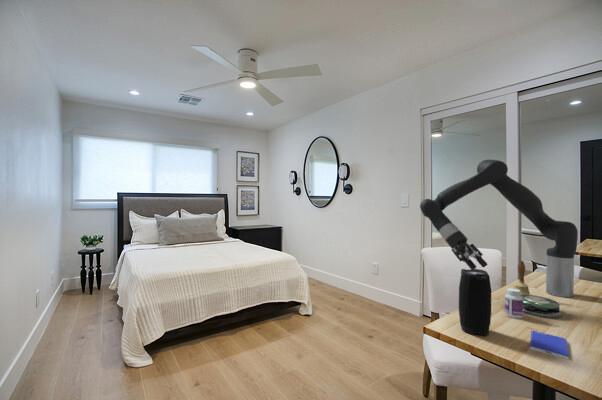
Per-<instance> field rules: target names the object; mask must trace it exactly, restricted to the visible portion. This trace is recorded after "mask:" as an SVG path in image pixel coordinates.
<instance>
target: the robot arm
mask: <svg viewBox="0 0 602 400" xmlns="http://www.w3.org/2000/svg"><path fill="white" fill-rule="evenodd" d="M508 167H509V166H508V165H507V164H506V163H505V162H504V161H501V160H498V159H485V160H482V161H481V162H479V163H478V164H477V167H476V172H477V174H475V175H473V176H471V177H469V178H467V179H464V180H462V181H460V182H457V183H454V184H453V185H451V186H449V187H447V188H445V189H443V190H442V191H441V192H439V194H437V197H436V198H435V199H430V198H425V199H423V200H422V201H421V202H420V205H419V208H420V211H421V213H422V215H423V216H424V217H426V218H428V219H429V221H430V222H431V225H432V226H433V227H434V228H435V230H437V232H438V233H439V235H440V236H441V237H442V239H443V240H444V241H445V242H446V243H447V244H448V246H449V247H450V248H451V252H452V253H453V254H454V255H455V256H456V258H457V259H458V261H459V262H463V263H465V264H466V265H467V266H468V268H469V270H473V269H477V265H476V263H474V261H473V260H472V259H471V258H473V259H475V261H476V262H477V263H478V264H479V265H480V266H481V268H485V267H486V266H488V263H487V262H486V260H485V259H484V258H483V257H482V256H483V253H482V252H481V251H480V250H479V248H478V247H476V246H475V244H474V243H471V244H469V243H468V237H467V236H466V235H465V234H464V233H463V232H462V231H461V230H460V228H458V226H456V224H454V222H452V221H451V220H450V219H449V217H448V216H447V215H446V214H445V213H444V212H443V211H445V209H446V208H447V207H448V206H450V205H452V204H454V203H456V202H457V201H459V200H460V199H462V198H464V197H466V196H467V195H469V194H472V193H473V192H475V191H477V190H479V189H481V188H483V187H486V186H489V185H491V186H492V187H493V188H495V189H496V190H497V191H498V192H499V193H500V194H501V195H502V197H504V198H505V199H506V201H507V202H509V203H510V204H511V205H512V206H513V207H514V208H515V209H517V210H518V211H519V212H520V213H521V215H523V216H524V217H526V218H527V220H529V221H530V222H531V223H532V224H533V226H535V227H536V229H537V230H538V231H539V232H540V233H541V235H542V236H544V237H545V238H546V239H547V240H550V241H554V242H555V245H554V246H553V247H550V248H547V249H546V260H545V261H546V263H545V264H546V265H545V266H546V269H545V270H546V272H545V274H546V275H545V281H546V282H545V292H546V293H547V294H549V295H553V296H556V297H562V298H574V295H575V293H574V291H575V290H574V288H575V253H576V251H577V249H578V248H577V247H578V238H579V237H578V234H579V232H578V228H577V226H576V224H575V223H574V222H570V221H565V220H564V221H562V220H556V219H553V218H552V217H551V216H549V215H548V213H546V212H545V211H544V209H543V203H542V201H541V199H540V197H538V196H537V194H535V193H534V192H533V191H532V190H531V189H529V188H528V187H526V186H525V185H523V184H522V183H520V182H518V181H516V180H514V179H513V178H511V177H510V176H509V175H508V172H509V171H508V170H509V169H508Z"/></svg>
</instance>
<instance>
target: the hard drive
mask: <svg viewBox="0 0 602 400" xmlns="http://www.w3.org/2000/svg"><path fill="white" fill-rule="evenodd" d="M529 341H530V343H529V349H530V350H532V351H536V352H540V353H542V354H543V353H544V354H547V355H551V356H555V357H558V358H561V357H562V359H566V360H570V356H569V355H570V354H569V348H568V343H567V342H568V341H567V339H566V338H565V337H561V336H556V335H553V334H549V333H544V332H540V331H538V330H537V331H535V330H531V332H530V340H529Z"/></svg>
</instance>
